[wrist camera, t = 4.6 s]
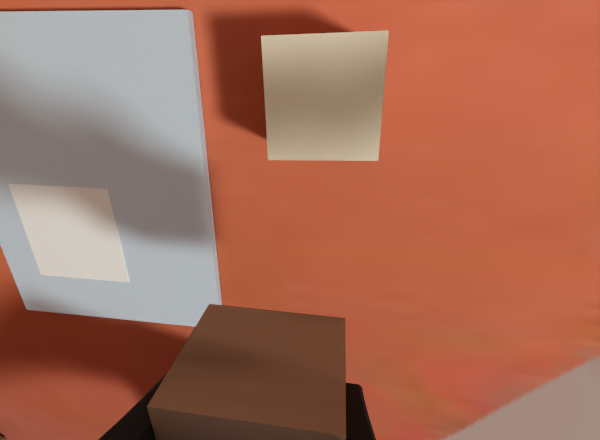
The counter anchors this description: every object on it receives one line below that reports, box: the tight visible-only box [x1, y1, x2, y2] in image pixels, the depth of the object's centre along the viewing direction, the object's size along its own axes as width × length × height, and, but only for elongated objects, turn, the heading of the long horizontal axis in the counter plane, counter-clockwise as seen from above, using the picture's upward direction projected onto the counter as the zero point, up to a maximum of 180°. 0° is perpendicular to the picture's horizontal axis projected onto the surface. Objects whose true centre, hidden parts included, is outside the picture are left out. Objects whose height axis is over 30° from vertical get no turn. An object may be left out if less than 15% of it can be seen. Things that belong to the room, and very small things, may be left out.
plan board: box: [0, 10, 222, 327], centre depth 20 cm, size 20×16×1 cm
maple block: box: [261, 30, 389, 161], centre depth 15 cm, size 5×5×4 cm
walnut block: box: [147, 304, 346, 440], centre depth 10 cm, size 5×5×4 cm
